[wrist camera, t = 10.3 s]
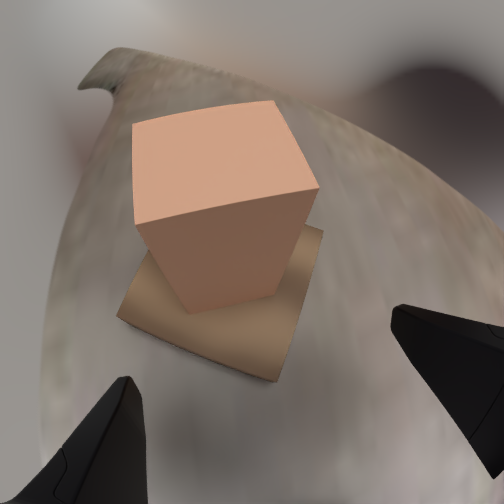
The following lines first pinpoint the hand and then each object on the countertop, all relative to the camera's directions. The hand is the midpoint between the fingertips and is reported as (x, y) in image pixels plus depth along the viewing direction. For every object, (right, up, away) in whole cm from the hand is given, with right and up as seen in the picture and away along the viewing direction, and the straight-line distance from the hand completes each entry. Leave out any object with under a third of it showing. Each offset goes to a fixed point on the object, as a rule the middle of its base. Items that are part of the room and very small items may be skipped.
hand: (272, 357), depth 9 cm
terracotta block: (-3, +2, +12) cm, 12 cm away
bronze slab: (-3, +1, +15) cm, 15 cm away
